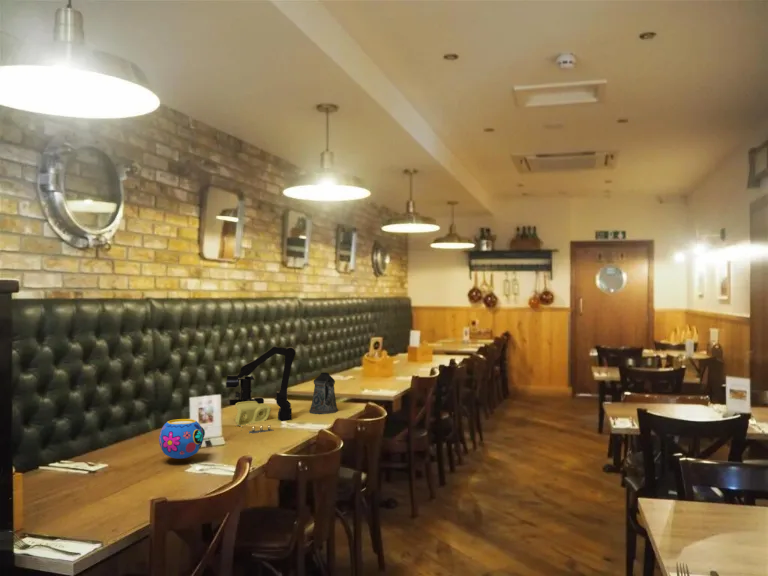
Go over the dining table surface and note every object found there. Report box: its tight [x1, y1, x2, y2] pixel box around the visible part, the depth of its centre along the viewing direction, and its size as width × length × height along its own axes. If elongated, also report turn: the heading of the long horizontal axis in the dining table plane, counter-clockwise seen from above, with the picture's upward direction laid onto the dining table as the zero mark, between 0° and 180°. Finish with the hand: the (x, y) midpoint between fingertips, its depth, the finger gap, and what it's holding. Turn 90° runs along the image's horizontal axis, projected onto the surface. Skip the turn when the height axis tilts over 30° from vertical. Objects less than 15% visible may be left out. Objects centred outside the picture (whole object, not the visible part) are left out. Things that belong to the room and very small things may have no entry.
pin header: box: [248, 424, 274, 434], centre depth 322 cm, size 12×2×3 cm, turn 117°
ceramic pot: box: [158, 418, 206, 460], centre depth 268 cm, size 18×18×15 cm
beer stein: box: [308, 372, 339, 415], centre depth 371 cm, size 16×19×25 cm
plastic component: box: [234, 401, 272, 427], centre depth 345 cm, size 20×7×10 cm, turn 139°
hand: (245, 417), depth 348 cm, fingers closed
